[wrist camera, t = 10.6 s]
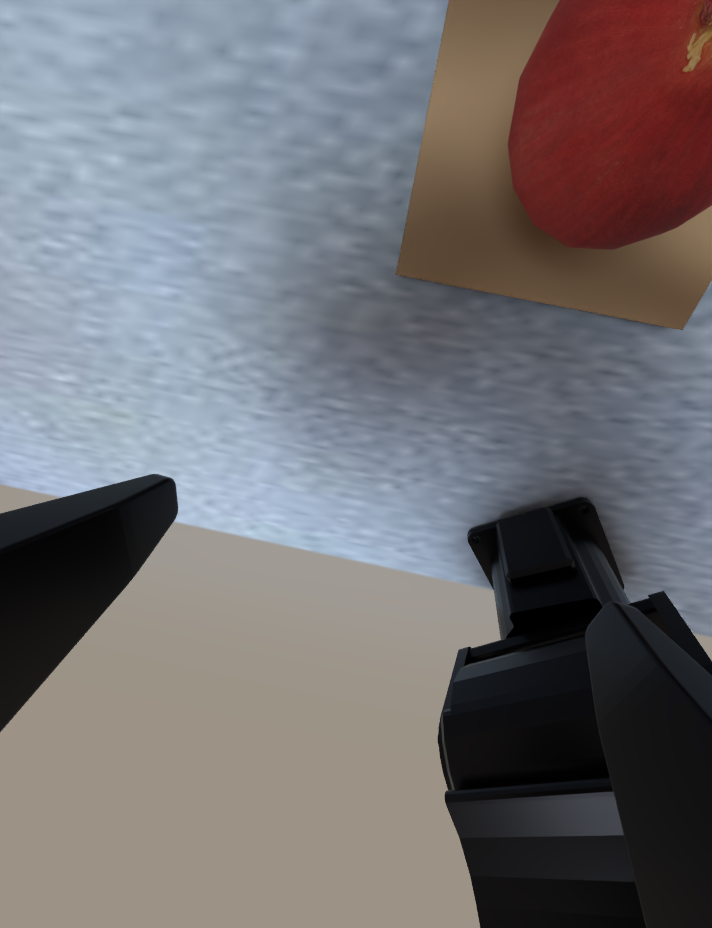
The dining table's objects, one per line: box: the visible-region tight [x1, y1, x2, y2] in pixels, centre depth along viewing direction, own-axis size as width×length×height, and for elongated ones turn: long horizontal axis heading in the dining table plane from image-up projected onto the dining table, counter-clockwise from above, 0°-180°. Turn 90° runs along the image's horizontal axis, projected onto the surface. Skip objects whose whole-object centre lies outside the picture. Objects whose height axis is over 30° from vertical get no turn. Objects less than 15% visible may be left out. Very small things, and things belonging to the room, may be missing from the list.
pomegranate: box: [508, 0, 712, 250], centre depth 8 cm, size 6×6×8 cm
